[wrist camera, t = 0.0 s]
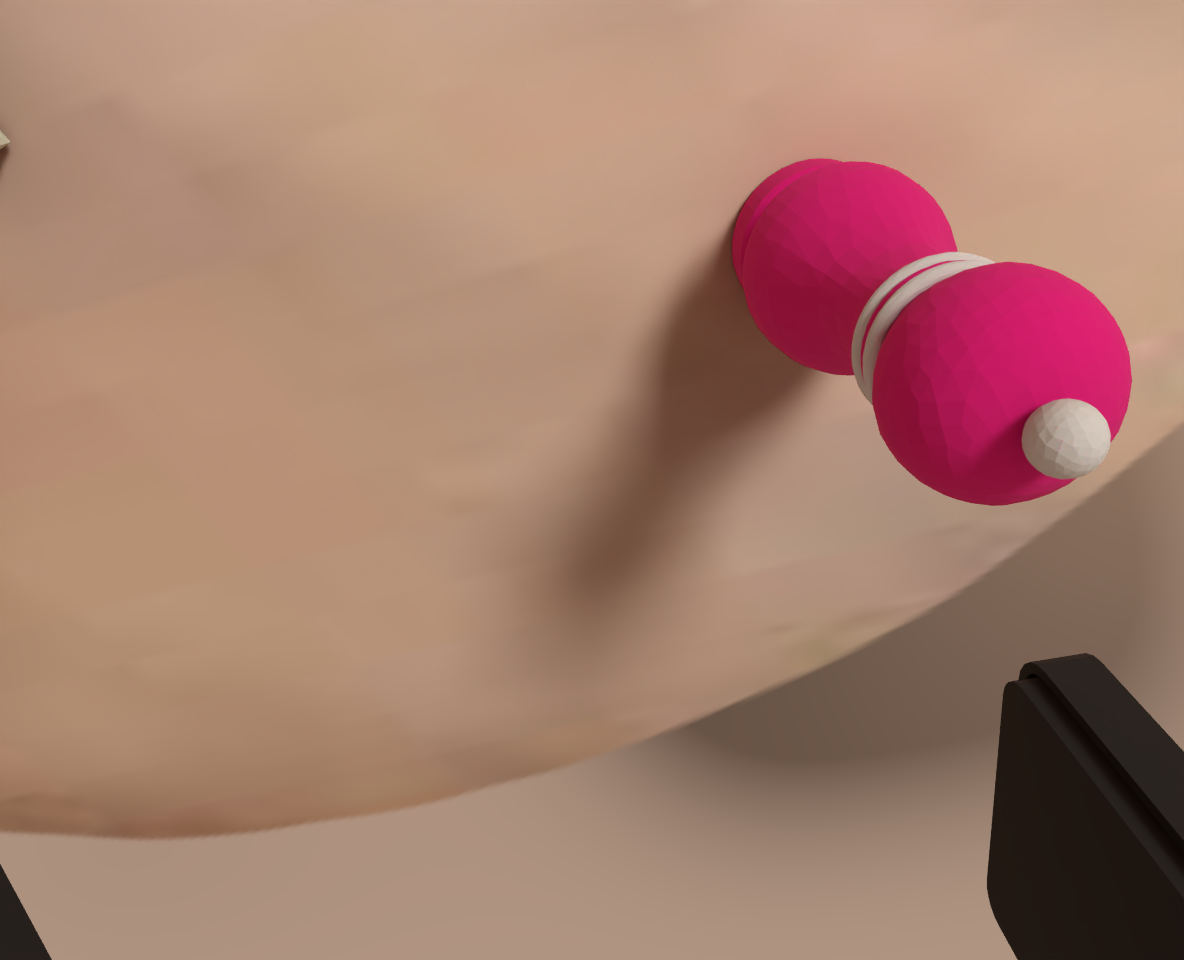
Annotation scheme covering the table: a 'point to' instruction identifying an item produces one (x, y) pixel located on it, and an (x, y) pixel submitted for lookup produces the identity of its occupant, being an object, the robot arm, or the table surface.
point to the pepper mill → (933, 331)
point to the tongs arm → (3, 140)
